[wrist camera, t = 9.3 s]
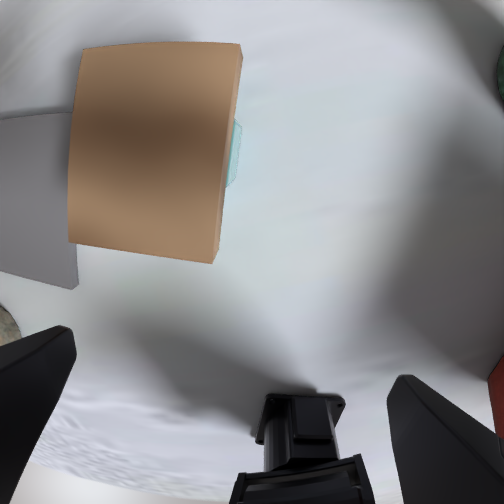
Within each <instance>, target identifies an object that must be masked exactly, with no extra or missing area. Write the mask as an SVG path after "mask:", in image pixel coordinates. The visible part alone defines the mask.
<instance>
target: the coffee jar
mask: <svg viewBox="0 0 504 504" xmlns="http://www.w3.org/2000/svg"><path fill="white" fill-rule="evenodd" d="M497 80H498V85H499V91H500V94H501V97H502V99H503V101H504V46H503V49H502V51H501V54H500V57H499V60H498V67H497Z"/></svg>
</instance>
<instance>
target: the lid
mask: <svg viewBox="0 0 504 504" xmlns="http://www.w3.org/2000/svg"><path fill="white" fill-rule="evenodd" d="M242 61H243V55H242V51H241V47H240V44H233V43H217V42H150V43H134V44H122V45H112V46H103V47H96V48H89V49H83V53H82V58H81V63H80V68H79V74H78V79H77V85H76V92H75V99H74V106H73V114H72V123H71V133H70V146H69V161H68V195H67V208H68V241H69V243H75V244H82V245H88V246H94V247H101V248H107V249H114V250H120V251H127V252H133V253H140V254H146V255H153V256H160V257H167V258H173V259H180V260H187V261H194V262H201V263H208V264H212V263H213V261H214V259H215V256H216V254H217V252H218V250H219V241H220V232H221V223H222V213H223V205H224V196H225V187H226V179H227V171H228V162H229V154H230V147H231V139H232V131H233V124H234V116H235V109H236V102H237V95H238V88H239V81H240V74H241V68H242Z"/></svg>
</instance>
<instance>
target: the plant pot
mask: <svg viewBox="0 0 504 504" xmlns="http://www.w3.org/2000/svg"><path fill="white" fill-rule="evenodd" d="M488 389H489V397H490V402H491V407H492V413H493V420H494V426H495V432H496V434H497V435H498V437H501V438H502V439H504V356H503V357H502V359H501V360H500V362H499V363H498V365H497V366H496V368H495V369H494V371H493V372H492V373H491V375H490V376H489V379H488Z"/></svg>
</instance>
